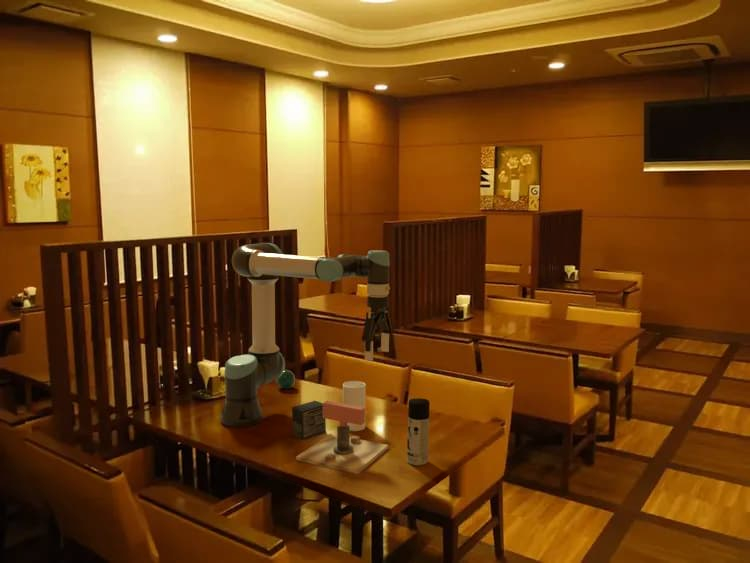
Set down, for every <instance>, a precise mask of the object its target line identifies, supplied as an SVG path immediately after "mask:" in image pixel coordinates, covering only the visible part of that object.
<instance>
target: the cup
mask: <svg viewBox="0 0 750 563" xmlns="http://www.w3.org/2000/svg"><path fill="white" fill-rule="evenodd" d="M366 389H367V387H366V383H365V382H363V381H359V380H358V381H357V380H350V381H345V382H343V383H342V404H348V405H354V406H359V407H365V408H366V399H367V398H366V397H367V396H366ZM347 425H348V426H350V432H359V431H363V430H365V429H366V422H365V423H363V424H362V425H358V424H352V423H347Z"/></svg>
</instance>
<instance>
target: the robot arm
mask: <svg viewBox="0 0 750 563" xmlns="http://www.w3.org/2000/svg"><path fill="white" fill-rule="evenodd" d="M231 264H232V268H233V270H234V271H235V272H236V273H237V274H238V275H240V276H241V277H246V278H247V281H249V282H250V283H251V313H252V314H251V316H252V317H251V320H252V322H251V324H252V325H251V328H252V330H251V331H252V332H251V333H252V335H251V336H252V345H251V346H250V347H249V348H248V354H241V355H235V356H232V357H231V358H229V359H228V360H227V361H226V362H225V364H224V366H225V367H224V387H225V388H224V390H225V391H224V393H225V401H224V404H223V408H222V411H221V415H220V422H221V424H223V425H225V426H226V427H227V426H228V427H232V428H233V427H234V428H245V427H250V426H254V425H258V424H260V423H261V422H262V421H263V418H264V416H263V414H264V413H263V411H262V409H261V405H260V402H259V400H258V399H259V398H258V397H259V396H258V395H259V394H258V392H259V391H258V388H260V387H262V386H264V385H265V386H266V385H267V384H269V383H273V382H274V381H276V379H278V378H279V377H280V376H281V375H282V374H283V372H284V370H286V360H285V356H283V354H282V353H281V352H280V347H279V346H278V345H277V344H276V299H275V298H276V296H275V295H276V292H275V291H276V285H275V284H276V282H277V281H278V280H279V276H280V277H290V278H291V277H292V278H301V279H315V280H321V281H322V282H325V283H327V282H328V283H329V282H330V283H332V282H337V281H340V280H344V279H349V278H353V277H354V278H356V277H357V278H358V277H359V278H367V280H366V294H367V297H366V306H367V307H368V308H370V312H369V311H366V314H365V320H364V321H365V322H364V326H363V331H362V336H361V341H362V342H364V361H369V362H372V361H374V341H373V340H374V336H375V332H376V329H377V326H378V325H379V327H380V329H381V331H382V332H381V333H380V336H381V337H380V341H381V342H380V352H385V353H389V351H390V348H389V346H390V334H392V333H393V327H392V323H391V322H392V321H391V316H390V310H389V309H390V308H389V305H390V304H389V303H390V297H389V296H388V295H389V293H390V290H391V287H390V266H391V263H390V252H388V251H387V250H383V249H382V250H381V249H380V250H379V249H378V250H377V249H375V250H369V251H368V252H367V255H357V254H350V253H347V254H339V255H338V256H337V257H329V256H328V257H327V256H323V257H322V256H314V255H313V256H312V255H311V256H309V255H297V254H296V255H295V254H284V253H283V251H282V250H281V248H279V246H278V245H276V244H274V243H270V242H260V243H253V244H244V245H241V246H239V247H238V248H237V249H235V250H234V252H233V253H232V256H231Z"/></svg>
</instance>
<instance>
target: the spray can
mask: <svg viewBox="0 0 750 563" xmlns="http://www.w3.org/2000/svg"><path fill="white" fill-rule="evenodd" d="M430 405H431V404H430V400H429V399H426V398H421V397H420V398H417V397H416V398H411V399H409V400H408V413H407V414H408V415H407V442H406V443H407V445H406V461H407V463H408V464H409V465H412V466H415V467H421V466H422V467H423V466H424V465H426V464H428V462H429V460H428V458H429V440H430V439H429V433H430Z"/></svg>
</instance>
